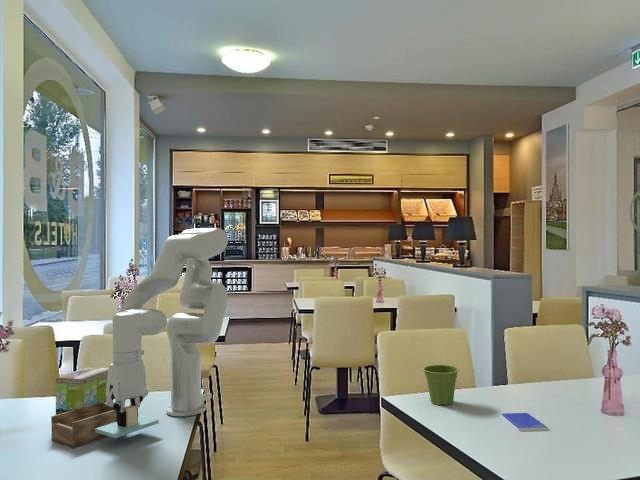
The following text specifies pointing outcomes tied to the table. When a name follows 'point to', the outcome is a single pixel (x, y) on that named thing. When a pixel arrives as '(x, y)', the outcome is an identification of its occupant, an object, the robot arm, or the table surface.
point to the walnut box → (81, 425)
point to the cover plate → (127, 423)
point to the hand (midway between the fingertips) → (127, 423)
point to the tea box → (81, 389)
